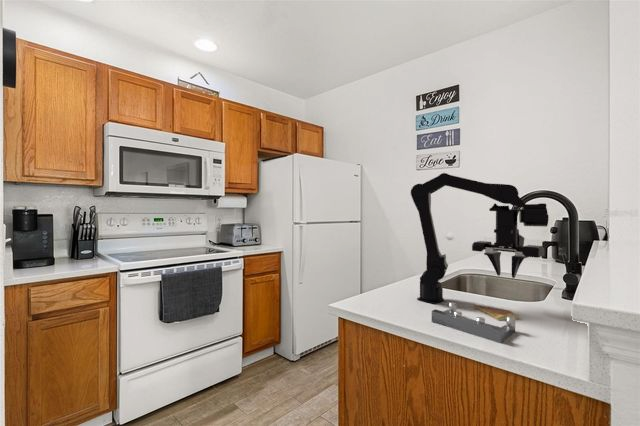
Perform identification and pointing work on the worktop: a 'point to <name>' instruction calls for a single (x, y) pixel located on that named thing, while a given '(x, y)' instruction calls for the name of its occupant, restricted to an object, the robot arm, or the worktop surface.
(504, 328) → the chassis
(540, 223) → the robot arm
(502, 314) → the shard
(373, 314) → the worktop surface
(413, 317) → the worktop surface
